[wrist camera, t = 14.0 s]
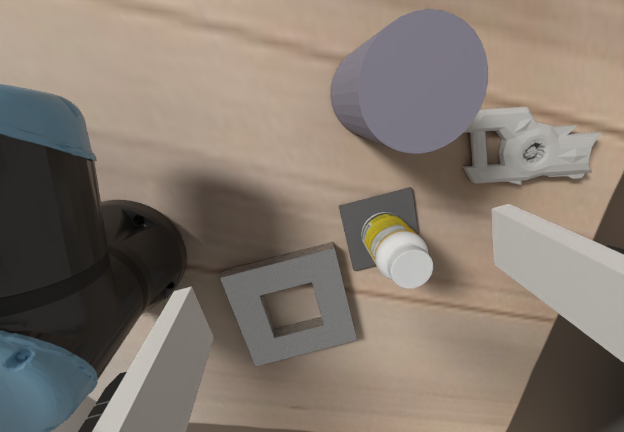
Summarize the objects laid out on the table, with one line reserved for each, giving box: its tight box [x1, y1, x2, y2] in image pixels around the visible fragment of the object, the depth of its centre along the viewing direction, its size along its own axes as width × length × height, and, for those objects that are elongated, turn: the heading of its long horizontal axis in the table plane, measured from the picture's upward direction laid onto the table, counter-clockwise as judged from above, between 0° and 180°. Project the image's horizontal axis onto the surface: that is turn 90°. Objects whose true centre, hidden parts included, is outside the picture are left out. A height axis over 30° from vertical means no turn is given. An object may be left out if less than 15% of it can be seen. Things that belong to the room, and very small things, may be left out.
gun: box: [463, 107, 602, 185], centre depth 41 cm, size 18×3×10 cm
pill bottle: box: [361, 212, 433, 289], centre depth 39 cm, size 6×6×11 cm
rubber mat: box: [339, 187, 418, 271], centre depth 44 cm, size 10×10×1 cm
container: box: [331, 9, 488, 154], centre depth 32 cm, size 10×10×15 cm
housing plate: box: [220, 242, 357, 367], centre depth 47 cm, size 16×16×2 cm
